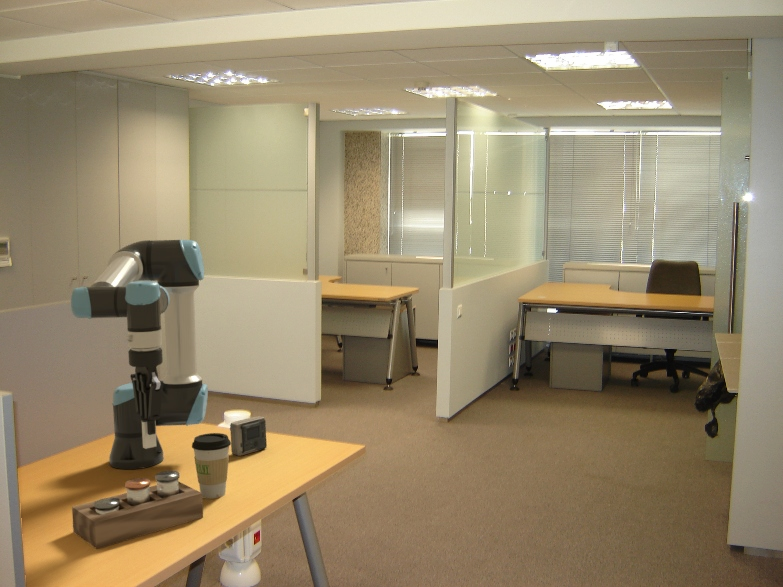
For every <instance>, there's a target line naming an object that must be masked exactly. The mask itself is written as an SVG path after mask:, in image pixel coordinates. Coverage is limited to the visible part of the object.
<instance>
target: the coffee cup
mask: <svg viewBox="0 0 783 587" xmlns="http://www.w3.org/2000/svg"><path fill="white" fill-rule="evenodd" d="M193 439H194V440H193V442H192V444H191V448H192V449H193V452H194V457H193V458H194V463H195V469H196V475H197V482H198V485H199V492H201V493H202V499H219V498H221V497H223V496H224V495H226V488H227V481H228V471H229V459H230V454H229V451H230V447H231V439H230V438H229V436H228V434H225V433H220V432H219V433H218V432H213V433H212V432H211V433H203V434H199V435H196V436H195V437H194V438H193Z"/></svg>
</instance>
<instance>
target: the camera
mask: <svg viewBox="0 0 783 587" xmlns="http://www.w3.org/2000/svg"><path fill="white" fill-rule="evenodd" d="M229 431H230V442H231V445H230V447H231V449H230V451H231V454H232V455H234V456H238V457H240V456H241V457H242V456H243V455H248V454H250V453H254V452H255V453H256V452H258V451H261V450H265V449H267V447H268V445H267V428H266V419H265V417H264V416H259V415H258V416H253V417H248V418H244V419H240V420H235V421H232V422H231V423H230V424H229Z"/></svg>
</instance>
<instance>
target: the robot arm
mask: <svg viewBox="0 0 783 587" xmlns="http://www.w3.org/2000/svg"><path fill="white" fill-rule="evenodd" d="M204 265H205V264H204V259H203V255H202V251H201V247H200V245H199V244H198V242H197V241H195V240H192V239H191V240H190V239H182V238H181V239H174V240H173V239H168V240H167V239H163V240H161V239H159V240H158V239H156V240H140V241H136V242H133V243H129V244H128V245H126V246H124V247H122V248H120V249H118V250H116V252H114V253H113V254H112V255H111V256H110V258H109V259H108V262H107V267H106V268H105V269H104V271H103V272H102V273H100V275H99V276H98V278H96V279H95V280H94V282H93V283H92V284H91V285H90V286H81V287H75V288H73V290H72V292H71V296H70V308H71V312H72V314H73V316H74V317H75V318H78V319H89V320H91V319H107V318H109V319H110V318H111V319H112V318H113V319H114V318H116V319H117V318H126V322H127V323H126V325H127V327H126V328H127V335H126V337H125V339H126V340H127V342H128V343H127V346H128V348H130V349H129V350H128V364H129V366H130V367H132V368H133V367H134V371H135V373H132V374H130V381H131V382H129V383H126V384H123V385H120V386H118V387H116V388H115V389H114V391H113V394H112V395H113V396H112V401H113V402H112V403H111V404H112V408H113V427H114V430H113V431H114V438H113V442H112V447H111V449H110V453H109V456H108V457H109V465H110V466H111V468H116V469H118V470H119V469H120V470H135V469H136V470H138V469H144V468H148V467H152V466H155V465H158V464H160V463H161V462H162V461H164V451H163V448H162V445H161V442H160V439H159V438H158V434H157V427H163V426H164V427H166V426H167V427H169V426H187V427H188V426H192V425H193V426H194V425H199V424H201V423H203V421H204V419H205V416H206V412H207V407H208V406H207V405H208V398H209V396H208V395H209V386H208V384H205V383H203V377H201V376H200V374H199V373H198V371H197V349H196V348H197V347H196V346H197V342H196V318H195V315H196V313H195V291H196V290H197V289H198V288H199V287H200V281H203V280H204V278H205V267H204ZM162 314H163V318H164V344H165V345H164V346H165V372H166V374H165V376H164V377H162V378H161V380H159V372H158V368H157V366H160V365H161V364H162V363H163V348H162V345H163V336H162V335H163V334H162V332H163V331H162V324H161V323H162V317H161V315H162Z"/></svg>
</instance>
